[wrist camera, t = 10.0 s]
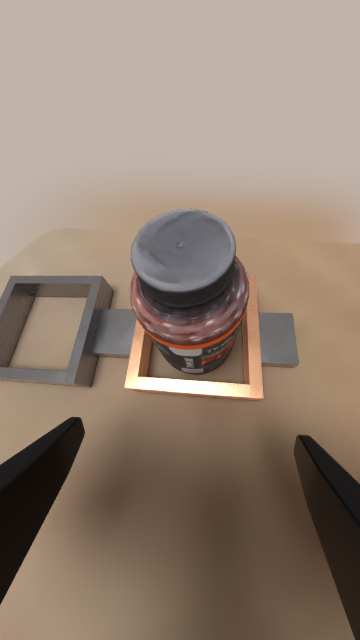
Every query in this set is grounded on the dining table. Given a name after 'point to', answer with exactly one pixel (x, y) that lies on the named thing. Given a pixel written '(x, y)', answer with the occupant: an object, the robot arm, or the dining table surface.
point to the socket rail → (136, 340)
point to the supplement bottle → (189, 288)
